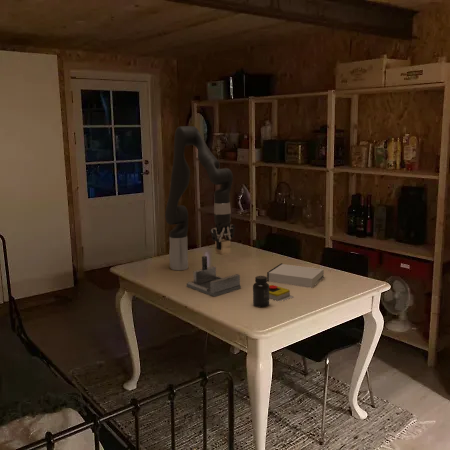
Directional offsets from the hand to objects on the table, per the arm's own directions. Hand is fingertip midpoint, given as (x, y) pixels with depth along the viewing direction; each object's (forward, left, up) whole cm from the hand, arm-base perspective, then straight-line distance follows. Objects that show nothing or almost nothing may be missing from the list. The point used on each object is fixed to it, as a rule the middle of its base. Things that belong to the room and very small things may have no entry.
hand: (223, 248), depth 236 cm
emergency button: (+26, +7, -19) cm, 33 cm away
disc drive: (+18, +31, -19) cm, 40 cm away
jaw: (-7, -6, -16) cm, 19 cm away
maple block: (0, 0, -2) cm, 3 cm away
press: (-1, -6, -18) cm, 19 cm away
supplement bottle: (+30, -6, -18) cm, 36 cm away
